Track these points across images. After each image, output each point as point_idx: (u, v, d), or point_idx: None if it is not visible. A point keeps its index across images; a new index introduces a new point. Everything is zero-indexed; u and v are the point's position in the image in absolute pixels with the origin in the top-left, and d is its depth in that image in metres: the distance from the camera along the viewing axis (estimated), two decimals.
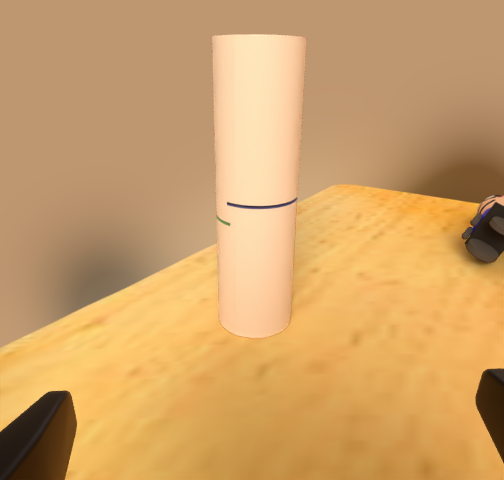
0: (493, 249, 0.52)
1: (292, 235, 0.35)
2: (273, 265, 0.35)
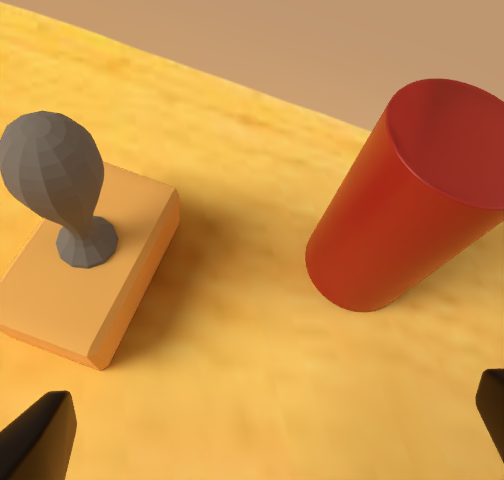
0: None
1: None
2: None
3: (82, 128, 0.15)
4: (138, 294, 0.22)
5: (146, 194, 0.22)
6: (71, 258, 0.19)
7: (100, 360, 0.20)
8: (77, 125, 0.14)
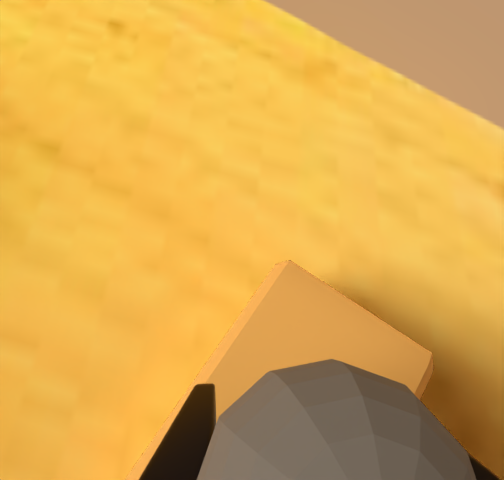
0: None
1: None
2: None
3: (470, 466, 0.04)
4: None
5: (381, 361, 0.12)
6: None
7: None
8: (469, 471, 0.04)
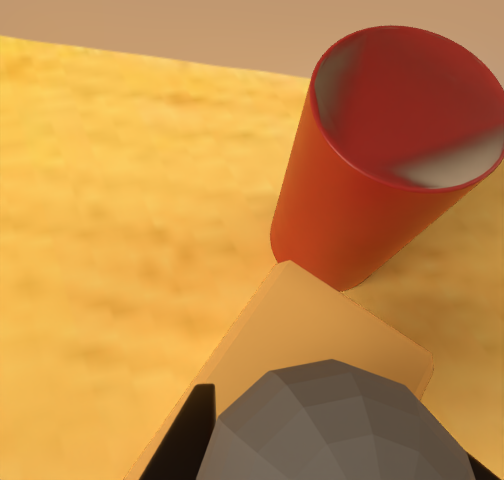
0: None
1: None
2: None
3: (470, 467, 0.04)
4: None
5: (381, 361, 0.12)
6: None
7: None
8: (469, 472, 0.04)
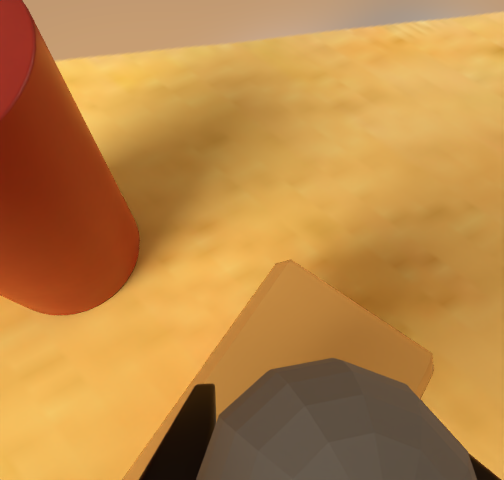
0: None
1: None
2: None
3: (471, 466, 0.04)
4: None
5: (381, 361, 0.12)
6: None
7: None
8: (470, 471, 0.04)
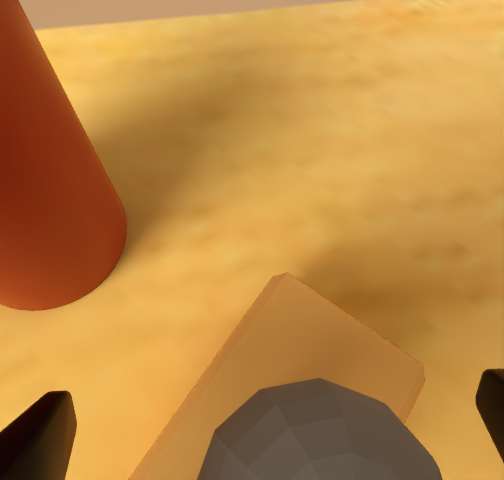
0: None
1: None
2: None
3: None
4: None
5: (374, 371, 0.12)
6: None
7: None
8: None
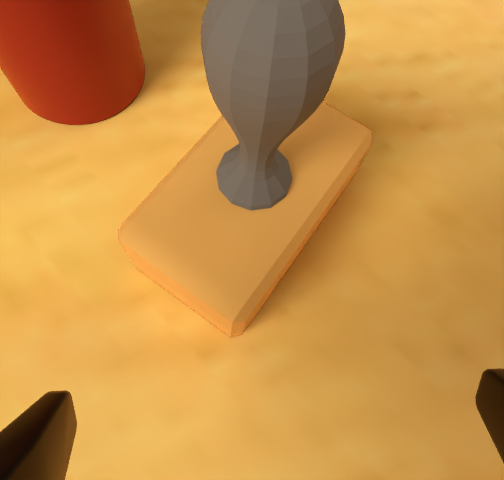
0: None
1: None
2: None
3: None
4: (294, 256, 0.17)
5: (333, 131, 0.17)
6: (234, 192, 0.15)
7: (240, 328, 0.15)
8: None
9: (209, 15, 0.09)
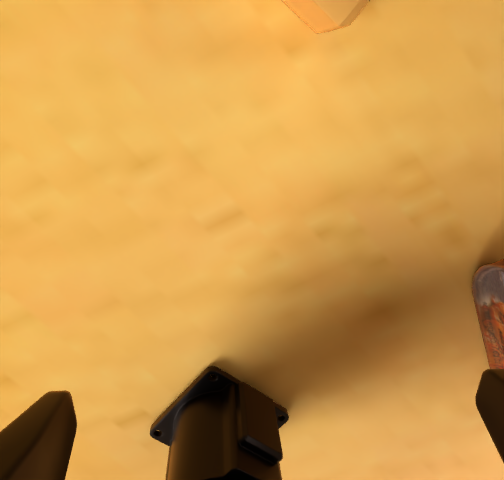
0: None
1: None
2: None
3: None
4: None
5: None
6: None
7: (336, 28, 0.16)
8: None
9: None
